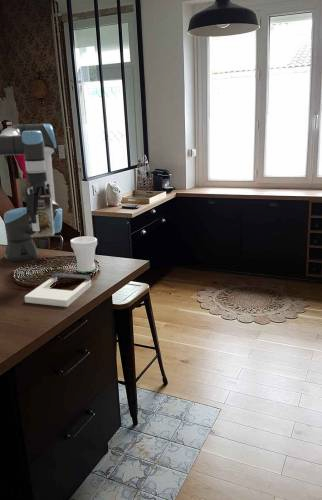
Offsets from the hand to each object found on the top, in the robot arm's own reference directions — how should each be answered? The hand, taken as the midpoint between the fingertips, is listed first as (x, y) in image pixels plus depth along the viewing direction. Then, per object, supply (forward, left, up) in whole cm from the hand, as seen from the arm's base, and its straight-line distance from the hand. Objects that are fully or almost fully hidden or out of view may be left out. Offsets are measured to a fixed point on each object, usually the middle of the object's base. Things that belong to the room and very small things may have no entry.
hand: (42, 228), depth 172 cm
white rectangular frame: (+15, +14, -21) cm, 29 cm away
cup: (-10, +13, -22) cm, 27 cm away
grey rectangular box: (0, 0, -3) cm, 3 cm away
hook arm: (+5, +14, -21) cm, 26 cm away
